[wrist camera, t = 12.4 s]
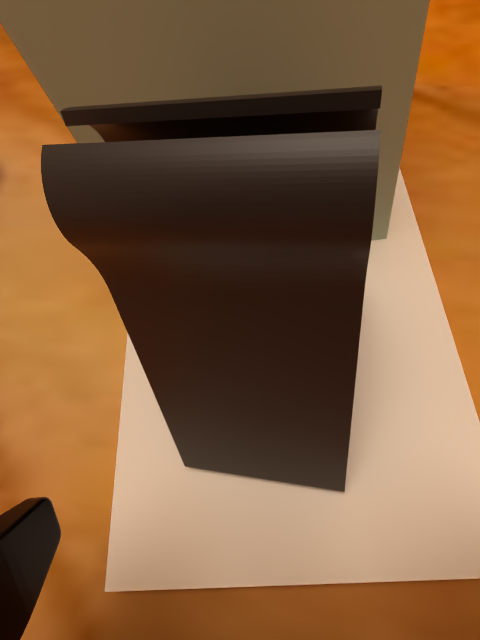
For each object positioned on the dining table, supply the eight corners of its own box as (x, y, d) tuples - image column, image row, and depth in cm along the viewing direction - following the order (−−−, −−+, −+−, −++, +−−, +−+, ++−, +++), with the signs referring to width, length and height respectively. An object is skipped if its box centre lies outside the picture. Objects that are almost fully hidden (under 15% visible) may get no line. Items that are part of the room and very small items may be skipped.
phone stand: (229, 274, 20) (120, -6, 10) (357, 280, 19) (389, -43, 8) (186, 467, 16) (-65, 344, 6) (343, 494, 15) (371, 390, 5)
